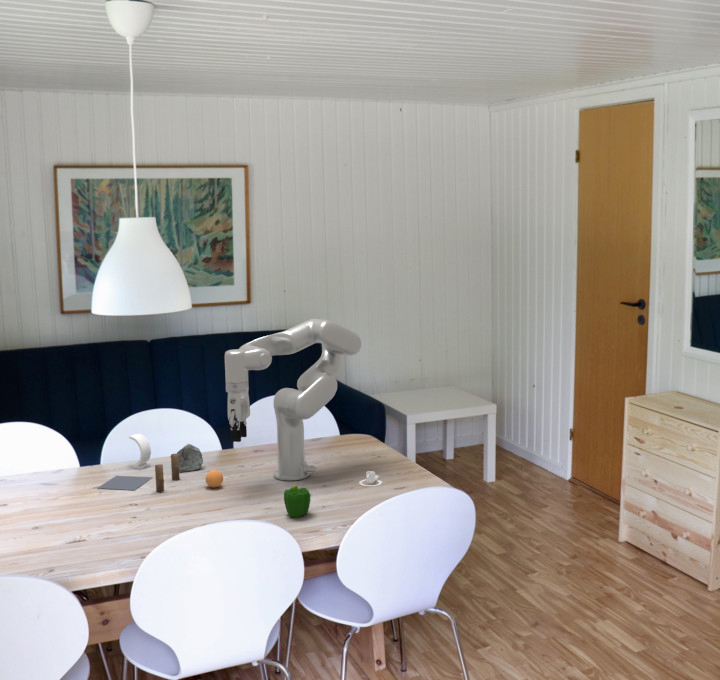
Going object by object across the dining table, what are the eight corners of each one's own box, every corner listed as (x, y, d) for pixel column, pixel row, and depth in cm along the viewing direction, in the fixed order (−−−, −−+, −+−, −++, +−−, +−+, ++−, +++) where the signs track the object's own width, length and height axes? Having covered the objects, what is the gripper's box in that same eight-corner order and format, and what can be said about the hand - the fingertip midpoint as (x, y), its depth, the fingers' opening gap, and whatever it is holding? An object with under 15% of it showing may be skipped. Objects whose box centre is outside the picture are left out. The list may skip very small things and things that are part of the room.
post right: (180, 478, 290) (179, 453, 289) (177, 480, 287) (176, 455, 286) (173, 477, 290) (172, 453, 289) (170, 480, 288) (169, 455, 287)
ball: (226, 484, 282) (225, 468, 281) (220, 490, 276) (219, 473, 275) (209, 484, 283) (208, 467, 282) (203, 489, 277) (202, 472, 276)
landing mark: (152, 477, 291) (152, 477, 291) (134, 490, 277) (134, 489, 277) (116, 476, 294) (116, 475, 294) (97, 488, 280) (96, 488, 280)
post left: (165, 490, 277) (164, 464, 276) (162, 492, 275) (160, 466, 273) (158, 489, 278) (156, 464, 276) (155, 492, 275) (153, 466, 274)
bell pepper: (296, 508, 257) (295, 477, 256) (316, 513, 252) (315, 482, 251) (277, 515, 251) (276, 484, 250) (297, 521, 246) (296, 489, 244)
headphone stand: (139, 464, 308) (137, 433, 306) (151, 466, 305) (150, 435, 303) (130, 467, 304) (129, 436, 302) (143, 469, 301) (141, 438, 299)
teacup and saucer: (372, 478, 288) (372, 467, 287) (388, 483, 282) (388, 471, 281) (354, 484, 282) (354, 472, 281) (370, 489, 276) (370, 477, 275)
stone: (187, 445, 294) (193, 437, 305) (166, 463, 295) (172, 454, 306) (205, 465, 296) (211, 456, 306) (185, 482, 297) (191, 473, 307)
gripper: (239, 392, 264) (241, 446, 266) (255, 381, 280) (257, 433, 283) (217, 391, 265) (219, 445, 268) (234, 381, 282) (236, 432, 284)
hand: (239, 438), depth 275 cm, fingers open, 5 cm apart
